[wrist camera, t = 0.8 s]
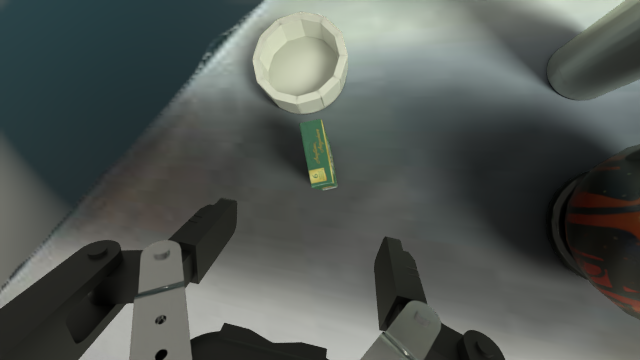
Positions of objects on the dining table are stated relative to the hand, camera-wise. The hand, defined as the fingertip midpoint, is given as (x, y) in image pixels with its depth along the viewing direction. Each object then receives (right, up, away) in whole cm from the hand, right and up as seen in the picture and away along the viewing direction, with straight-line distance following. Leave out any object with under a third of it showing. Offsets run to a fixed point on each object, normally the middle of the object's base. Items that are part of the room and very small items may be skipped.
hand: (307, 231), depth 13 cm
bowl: (-2, +21, +30) cm, 37 cm away
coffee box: (+2, +5, +28) cm, 29 cm away
